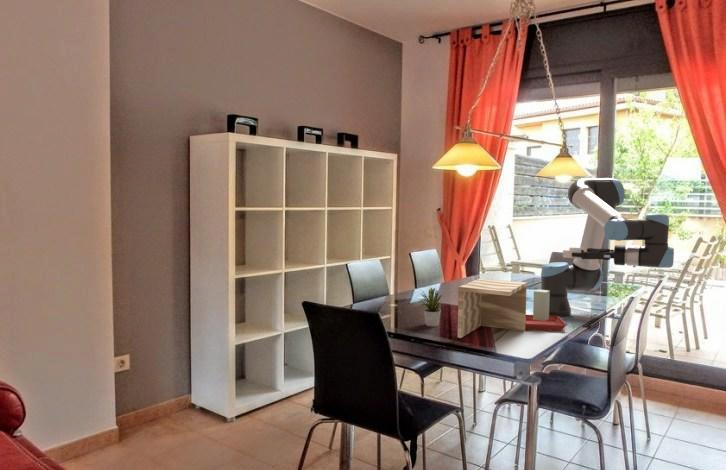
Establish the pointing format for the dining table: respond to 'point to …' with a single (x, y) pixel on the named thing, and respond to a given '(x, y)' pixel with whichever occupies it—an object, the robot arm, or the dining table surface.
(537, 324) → the plant saucer
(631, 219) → the robot arm
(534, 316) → the tall block
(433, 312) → the house plant
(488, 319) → the cubby box
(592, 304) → the dining table surface
